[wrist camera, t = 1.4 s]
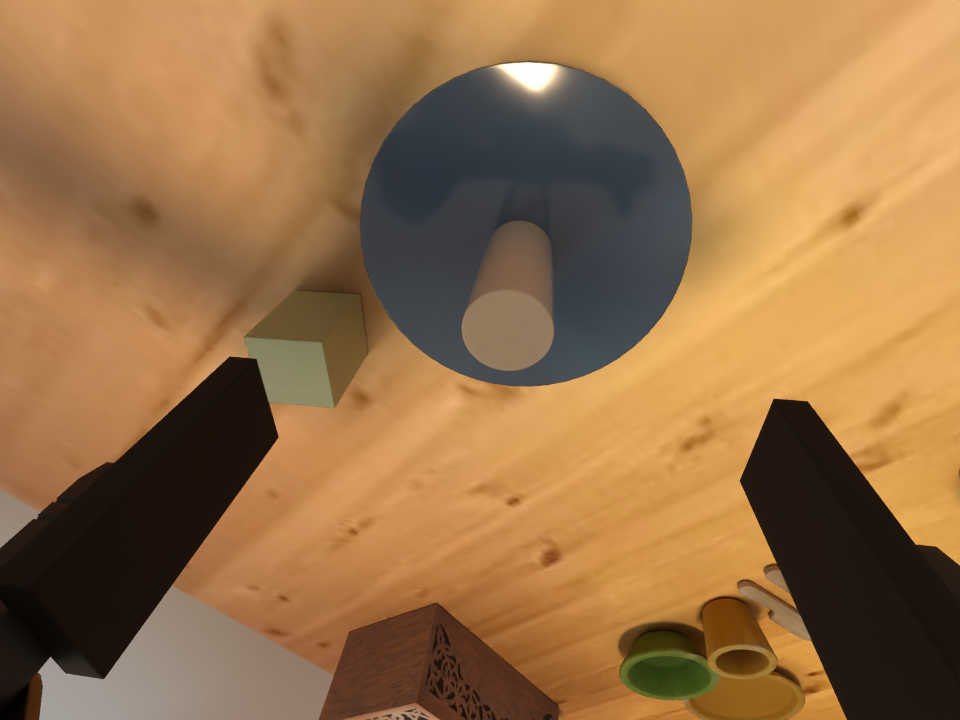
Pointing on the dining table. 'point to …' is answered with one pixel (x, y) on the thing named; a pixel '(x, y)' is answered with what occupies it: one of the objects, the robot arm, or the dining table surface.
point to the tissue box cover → (428, 675)
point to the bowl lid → (526, 223)
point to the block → (309, 347)
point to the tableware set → (721, 661)
